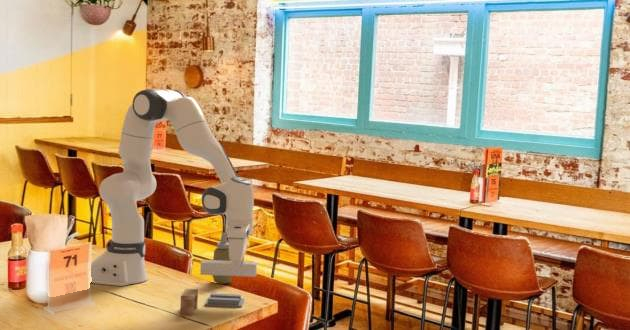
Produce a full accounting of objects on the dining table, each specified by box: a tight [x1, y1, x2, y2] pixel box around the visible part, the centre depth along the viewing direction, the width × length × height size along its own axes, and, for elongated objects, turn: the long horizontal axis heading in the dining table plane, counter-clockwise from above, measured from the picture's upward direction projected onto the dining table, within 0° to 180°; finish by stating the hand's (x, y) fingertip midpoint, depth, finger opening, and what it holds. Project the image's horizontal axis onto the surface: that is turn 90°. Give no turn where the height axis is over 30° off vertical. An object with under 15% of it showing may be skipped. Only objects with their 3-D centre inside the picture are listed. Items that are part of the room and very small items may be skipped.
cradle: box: [204, 292, 245, 308], centre depth 245 cm, size 12×8×2 cm, turn 90°
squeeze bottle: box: [212, 232, 233, 285], centre depth 269 cm, size 8×8×18 cm
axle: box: [199, 259, 258, 278], centre depth 244 cm, size 18×4×4 cm, turn 90°
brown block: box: [179, 288, 199, 316], centre depth 235 cm, size 4×8×6 cm, turn 0°
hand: (238, 269), depth 244 cm, fingers closed on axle, 4 cm apart
